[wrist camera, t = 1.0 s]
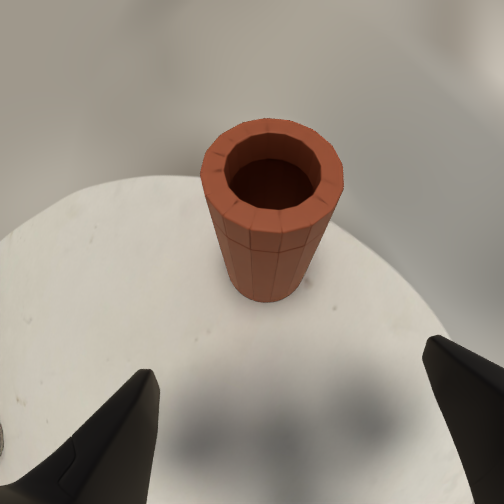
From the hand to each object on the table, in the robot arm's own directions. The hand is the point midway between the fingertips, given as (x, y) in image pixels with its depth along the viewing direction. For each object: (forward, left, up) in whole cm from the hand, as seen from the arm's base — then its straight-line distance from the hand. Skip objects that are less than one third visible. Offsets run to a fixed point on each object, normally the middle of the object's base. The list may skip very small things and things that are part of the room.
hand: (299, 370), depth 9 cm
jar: (+8, -2, -13) cm, 16 cm away
